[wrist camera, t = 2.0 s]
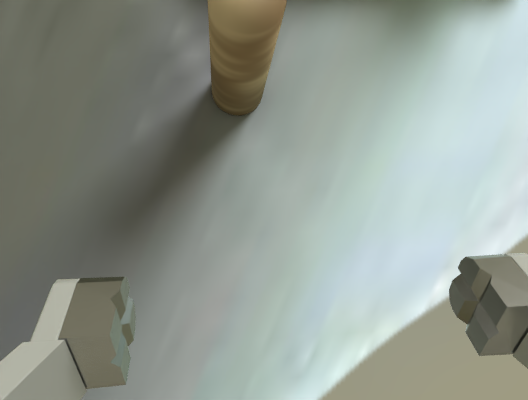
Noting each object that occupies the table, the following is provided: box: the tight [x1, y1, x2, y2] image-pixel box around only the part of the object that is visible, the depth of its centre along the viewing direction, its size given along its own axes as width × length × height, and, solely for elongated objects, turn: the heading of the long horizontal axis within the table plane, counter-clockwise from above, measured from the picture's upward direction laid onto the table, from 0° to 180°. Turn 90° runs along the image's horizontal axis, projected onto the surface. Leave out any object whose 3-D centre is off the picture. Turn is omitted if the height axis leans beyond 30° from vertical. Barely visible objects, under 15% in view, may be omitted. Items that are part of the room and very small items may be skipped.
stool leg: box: [208, 0, 287, 116], centre depth 24 cm, size 4×4×11 cm
